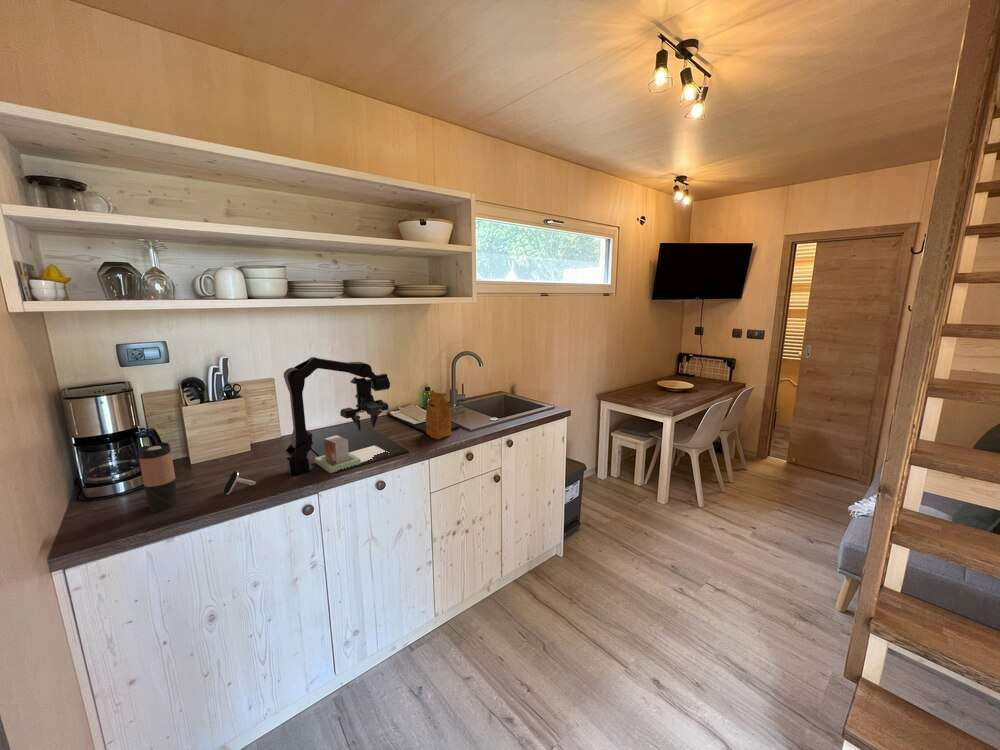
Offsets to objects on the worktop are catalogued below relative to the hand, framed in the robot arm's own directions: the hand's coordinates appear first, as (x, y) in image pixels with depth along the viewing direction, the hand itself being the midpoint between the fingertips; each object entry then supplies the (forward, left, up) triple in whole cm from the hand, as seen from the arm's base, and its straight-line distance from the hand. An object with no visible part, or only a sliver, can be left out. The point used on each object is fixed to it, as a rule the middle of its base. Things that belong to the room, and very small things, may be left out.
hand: (366, 429), depth 166 cm
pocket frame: (-13, 0, -11) cm, 17 cm away
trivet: (0, 0, -11) cm, 11 cm away
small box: (-13, 0, -12) cm, 17 cm away
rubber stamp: (-48, +2, -13) cm, 50 cm away
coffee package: (+36, -2, -11) cm, 37 cm away
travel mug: (-66, +7, -11) cm, 67 cm away
